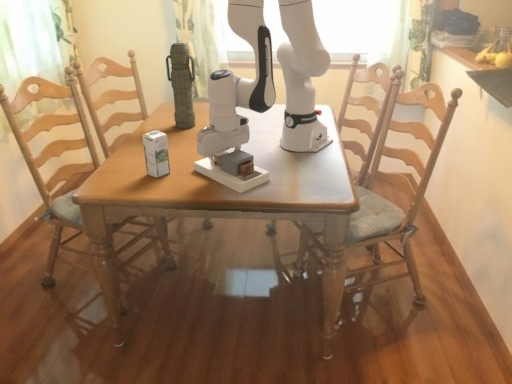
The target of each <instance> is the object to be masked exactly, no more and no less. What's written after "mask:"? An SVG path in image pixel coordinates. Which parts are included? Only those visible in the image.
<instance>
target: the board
mask: <svg viewBox="0 0 512 384" xmlns="http://www.w3.org/2000/svg"><path fill="white" fill-rule="evenodd" d="M213 158H214V157H213ZM246 161H249V162H252V163H254V154H251V153H249V152H246V151H243V150H241V149H240V150H236V151H234V150H233V151H230V152H228V154H225V155H222V156H221V167H220V166H218V165H216V166H211V163H210V160H209V158H208V157H203V158H202V159H199V160H196V161H193V171H195V172H197V173H199V174H201V175H204V176H205V177H207V178H209V179H211V180H214V181H215V182H218V183H219V184H222V185H223V186H226V187H228V188H229V189H231V190H234V191H236V192H237V193H240V194H241V193H244V192H247V191H248V190H250V189H253V188H256V187H258V186H260V185H262V184H265V183H266V182H267V183H268V182H269V181H270V180H271V179H270V175H271V173H270V171H268V170H266V169H264V168H261V167H258V166H257V165H254V173H253V174H251V175H248V176H246V177H242V176H240V175H238V164H241V163H244V162H246Z"/></svg>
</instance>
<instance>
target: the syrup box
mask: <svg viewBox="0 0 512 384" xmlns="http://www.w3.org/2000/svg"><path fill="white" fill-rule="evenodd" d="M168 144H169V143H168V135H167V134H166V133H165V132H162V131H160V130H153V131H150V132H147V133H144V134H142V145H143V151H144V160H145V168H146V174H147V175H148V176H151V177H153V178H157V179H159V178H162V177H165V176H167V175H169V174H170V173H171V168H170V166H171V165H170V156H169V145H168Z"/></svg>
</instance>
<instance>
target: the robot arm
mask: <svg viewBox="0 0 512 384" xmlns="http://www.w3.org/2000/svg"><path fill="white" fill-rule="evenodd" d="M264 2H265V0H228V1H227V15H226V16H227V23H228V26H229V27H230V29H231V30H232V32H233V33H234V34H235V35H236V36H238V37H239V38H240V39H242V40H244V41H246V42H247V43H248V44H249V45H250V47H251V48H252V50H253V52H254V57H255V58H254V61H255V62H254V63H255V64H254V65H255V79H254V78H249V77H248V78H247V77H243V76H239V75H237V74H234V71H232V70H230V69H219V70H214V71H213V72H212V73H211V74H209V77H208V81H207V82H208V83H207V99H208V100H207V101H208V103H209V111H208V116H209V117H208V118H209V126H206V127H202V128H200V130H199V131H198V132H197V140H196V152H197V154H198V155H199V156H200V157H203V158H207V157H208V158H209V160H210V163H211V166H216V165H217V160H215V159H214V158H213V157H214V154H216V153H219V152H222V151H227V150H230V149H233V148H234V149H233V152H234V151H236V150H241V148H242V147H241V146H242V145H245V144H248V143H249V141H250V137H251V135H250V132H251V131H250V126H249V125H248V124H249V122H250V120H249V118H248V117H246V116H244V115H241V114H237V108H241V109H247V110H250V111H253V112H255V113H259V114H263V113H266V112H267V111H269V110H270V109H272V107H273V106H274V104H275V102H276V97H277V96H276V94H277V93H276V89H275V88H276V87H275V82H274V69H273V67H274V65H273V45H272V43H273V42H272V35H271V31H270V29H269V27H268V26H267V25H266V21H265V18H264ZM277 2H278V7H279V9H278V10H279V15H280V22H281V28H282V30H283V31H284V33H285V34H286V36H287V39H288V40H285V41H283V42H281V43H280V44H279V46H278V48H277V50H276V59H277V62H278V63H279V66H280V68H281V72H282V77H283V80H284V81H283V82H284V86H285V109H284V113H283V120H284V121H283V126H282V132H281V133H282V134H281V137H280V147H281V148H282V149H284V150H287V151H290V152H297V153H299V152H300V153H302V152H310V153H311V152H312V153H317V152H319V151H321V150H322V149H323V148H325V147H326V146H328V145H329V144H331V143H333V141H334V138H333V137H332V136H330V135H328V127H327V125H325V124H324V123H323V122H322V121H320V119H318V116H321V115H322V113H323V111H322V110H321V109H316V96H317V94H316V93H317V91H316V87H315V86H314V85H313V82H312V78H320V77H322V76H324V75H326V73H328V71H329V70H330V66H331V61H332V60H331V56H330V53H329V52H328V50H327V49H326V48H325V46H324V44H323V42H322V41H321V40H322V39H321V37H320V35H319V32H318V30H317V25H316V23H315V17H314V9H313V3H312V2H313V1H312V0H277ZM317 115H318V116H317Z"/></svg>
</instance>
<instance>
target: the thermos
mask: <svg viewBox="0 0 512 384" xmlns="http://www.w3.org/2000/svg"><path fill="white" fill-rule="evenodd" d="M169 59H170V63H169ZM190 62H191V67H190ZM165 65H166V74H167V75H166V76H167V81H169V82H170V84H171V88H172V91H173V92H172V93H173V103H174V104H173V105H174V113H173V116H174V121H175V128H177V129H179V130H188V129H193V128H195V127H196V114H195V113H196V112H195V110H194V103H193V86H194V85H193V82H194V81H195V80H196V73H195V72H196V69H195V66H196V65H195V58H194V56H193V55H190V53H189V49H188V46H187V44H185V43H183V42H174V43H172V44H171V45H170V49H169V55H167V56H166V57H165ZM170 65H171V67H170ZM170 69H171V70H170Z"/></svg>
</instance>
